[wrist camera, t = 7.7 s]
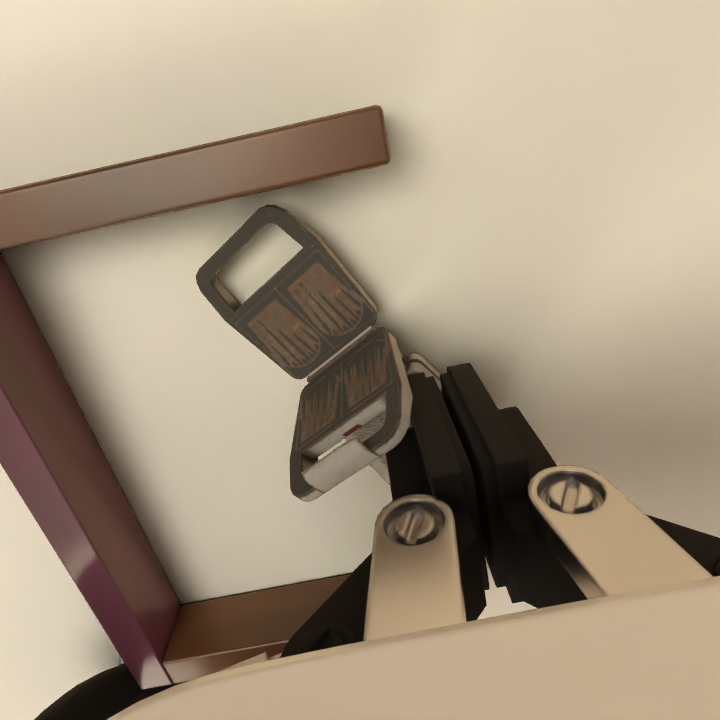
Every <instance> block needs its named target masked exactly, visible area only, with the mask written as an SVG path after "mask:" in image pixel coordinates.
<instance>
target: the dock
mask: <svg viewBox="0 0 720 720" xmlns="http://www.w3.org/2000/svg"><path fill="white" fill-rule="evenodd" d="M389 162H390V152H389V146H388V140H387V134H386V128H385V122H384V116H383V110H382V108H381V106H378V105H374V106H370V107H365V108H361V109H357V110H352V111H348V112H343V113H339V114H335V115H330V116H326V117H321V118H317V119H313V120H308V121H304V122H299V123H295V124H291V125H286V126H282V127H277V128H273V129H269V130H264V131H260V132H255V133H251V134H247V135H242V136H238V137H233V138H229V139H225V140H220V141H216V142H211V143H207V144H203V145H198V146H194V147H189V148H185V149H180V150H176V151H172V152H167V153H163V154H158V155H154V156H150V157H145V158H141V159H136V160H132V161H128V162H123V163H119V164H114V165H110V166H106V167H101V168H97V169H92V170H88V171H84V172H79V173H75V174H70V175H66V176H62V177H57V178H53V179H48V180H44V181H40V182H35V183H31V184H26V185H22V186H18V187H13V188H9V189H4V190H0V250H3V249H8V248H12V247H17V246H21V245H26V244H30V243H35V242H39V241H44V240H48V239H53V238H57V237H62V236H66V235H71V234H75V233H80V232H84V231H89V230H93V229H98V228H102V227H107V226H111V225H116V224H120V223H125V222H129V221H134V220H138V219H143V218H147V217H152V216H157V215H161V214H166V213H170V212H175V211H179V210H184V209H188V208H193V207H197V206H202V205H206V204H211V203H215V202H220V201H224V200H229V199H233V198H238V197H242V196H247V195H251V194H256V193H260V192H265V191H269V190H274V189H278V188H283V187H287V186H292V185H296V184H301V183H306V182H310V181H315V180H319V179H324V178H328V177H333V176H337V175H342V174H346V173H351V172H355V171H360V170H364V169H369V168H373V167H378V166H382V165H386V164H388V163H389ZM0 464H1V465H2V467H3V468H4V470H5V472H6V473H7V475H8V476H9V478H10V480H11V481H12V483H13V484H14V486H15V488H16V489H17V491H18V492H19V494H20V496H21V497H22V499H23V500H24V502H25V504H26V505H27V507H28V508H29V510H30V512H31V513H32V515H33V516H34V518H35V520H36V521H37V523H38V524H39V526H40V528H41V529H42V531H43V532H44V534H45V536H46V537H47V539H48V540H49V542H50V544H51V545H52V547H53V548H54V550H55V552H56V553H57V555H58V556H59V558H60V560H61V561H62V563H63V564H64V566H65V568H66V569H67V571H68V572H69V574H70V576H71V577H72V579H73V580H74V582H75V584H76V585H77V587H78V588H79V590H80V592H81V593H82V595H83V596H84V598H85V600H86V601H87V603H88V604H89V606H90V608H91V609H92V611H93V612H94V614H95V616H96V617H97V619H98V620H99V622H100V624H101V625H102V627H103V628H104V630H105V632H106V633H107V635H108V636H109V638H110V640H111V641H112V643H113V644H114V646H115V648H116V649H117V651H118V652H119V654H120V656H121V657H122V659H123V660H124V662H125V664H126V665H127V667H128V668H129V670H130V672H131V673H132V675H133V676H134V678H135V680H136V681H137V683H138V684H139V686H140V688H141V689H148V688H153V687H159V686H164V685H170V684H173V683H179V682H185V681H190V680H194V679H197V678H200V677H203V676H206V675H209V674H213V673H216V672H218V671H221V670H223V669H226V668H228V667H230V666H233V665H235V664H238V663H240V662H242V661H245V660H247V659H250V658H252V657H254V656H257V655H259V654H262V653H264V652H266V653H267V655H268V657H269V658H270V657H273V656H275V655H278V654H280V653H282V652H283V649H284V647H285V645H286V644H287V643H288V641H289V640H290V639H291V637H292V636H293V635H294V634H295V632H296V631H297V630H298V629H299V628H300V627H301V626H302V625H303V624H304V623H305V622H306V621H307V620H308V619H309V618H310V617H311V616H312V615H313V614H314V613H315V612H316V610H317V609H318V608H319V607H320V606H321V605H322V604H323V603H324V602H325V601H326V600H327V599H328V598H329V597H330V596H331V595H332V594H333V593H334V592H335V591H336V590H337V588H338V587H339V586H340V585H341V584H342V583H343V582H344V581H345V580H346V579H347V578H348V577H349V576H350V575H351V574H348V575H343V576H337V577H332V578H326V579H321V580H315V581H310V582H305V583H299V584H294V585H288V586H283V587H278V588H272V589H267V590H261V591H256V592H251V593H245V594H240V595H234V596H229V597H224V598H218V599H213V600H207V601H202V602H196V603H191V604H186V605H182V606H181V605H180V603H179V601H178V599H177V597H176V595H175V593H174V591H173V589H172V587H171V585H170V584H169V582H168V580H167V578H166V576H165V574H164V572H163V570H162V568H161V566H160V564H159V562H158V560H157V558H156V556H155V554H154V552H153V550H152V548H151V546H150V545H149V543H148V541H147V539H146V537H145V535H144V533H143V531H142V529H141V527H140V525H139V523H138V521H137V519H136V517H135V515H134V513H133V511H132V509H131V507H130V505H129V504H128V502H127V500H126V498H125V496H124V494H123V492H122V490H121V488H120V486H119V484H118V482H117V480H116V478H115V476H114V474H113V472H112V470H111V468H110V466H109V465H108V463H107V461H106V459H105V457H104V455H103V453H102V451H101V449H100V447H99V445H98V443H97V441H96V439H95V437H94V435H93V433H92V431H91V429H90V427H89V425H88V424H87V422H86V420H85V418H84V416H83V414H82V412H81V410H80V408H79V406H78V404H77V402H76V400H75V398H74V396H73V394H72V392H71V390H70V388H69V386H68V385H67V383H66V381H65V379H64V377H63V375H62V373H61V371H60V369H59V367H58V365H57V363H56V361H55V359H54V357H53V355H52V353H51V351H50V349H49V347H48V345H47V344H46V342H45V340H44V338H43V336H42V334H41V332H40V330H39V328H38V326H37V324H36V322H35V320H34V318H33V316H32V314H31V312H30V310H29V308H28V306H27V304H26V303H25V301H24V299H23V297H22V295H21V293H20V291H19V289H18V287H17V285H16V283H15V281H14V279H13V277H12V275H11V273H10V271H9V269H8V267H7V265H6V264H5V262H4V260H3V258H2V256H1V254H0Z"/></svg>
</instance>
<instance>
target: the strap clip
mask: <svg viewBox="0 0 720 720" xmlns="http://www.w3.org/2000/svg"><path fill="white" fill-rule="evenodd" d="M268 223H274V224H277V225H278V226H279V227H280V228H281V229H283V230H284V231H285V232H286V233H287V234H288V235H290V236H291V237H292V238H293V239H294V240H295V241H297V242H298V243H299V244H300V245H301V246H302V247H304V248H303V249H302V250H301V251H299V252H298V253H297V254H296V255H295V256H294V257H293V258H292V259H291V260H290V261H289V262H288V263H286V264H285V265H284V266H283V267H282V268H281V269H280V270H279V271H278V272H277V273H276V274H275V275H273V276H272V277H271V278H270V279H269V280H268V281H267V282H266V283H265V284H264V285H263V286H262V287H260V288H259V289H258V290H257V291H256V292H255V293H254V294H253V295H252V296H251V297H250V298H249V299H247V300H246V301H245V302H244V303H243V304H242V305H240V304H239V303H238V302H237V301H236V300H235V299H234V298H233V297H232V295H231V294H230V293H229V292H228V291H227V290H226V289H225V288H224V287H223V286H222V285H221V284H220V283H219V282H218V280H217V278H216V274H217V273H218V271H219V270H220V269H221V268H222V266H223V265H224V264H225V263H227V262H228V261H229V260H230V259H231V258H232V257H233V256H234V255H235V254H236V253H237V252H238V251H239V250H240V249H241V248H242V247H243V246H244V245H245V244H246V243H247V242H248V241H249V240H250V239H251V238H252V237H253V236H254V235H255V234H256V233H257V232H258V231H259V230H260V229H261V228H263V227H264V226H265V225H266V224H268ZM196 280H197V284H198V286H199V288H200V291H201V292H202V294H203V295H204V296H205V297H206V298H207V300H208V301H209V302H210V303H211V304H212V306H213V307H214V308H215V309H216V310H217V312H218V313H219V314H220V315H221V316H222V318H223V319H224V320H225V321H226V322H227V323H228V324H230V325H231V326H232V327H233V328H234V329H236V330H237V331H238V332H239V333H240V334H242V335H243V336H244V337H245V338H246V339H248V340H249V341H250V342H251V343H252V344H253V345H255V346H256V347H257V348H258V349H259V350H261V351H262V352H263V353H264V354H265V355H267V356H268V357H269V358H270V359H271V360H273V361H274V362H275V363H276V364H277V365H278V366H280V367H281V368H282V369H283V370H284V371H286V372H287V373H288V374H289V375H290V376H292V377H293V378H295V379H303V378H305V377H306V376H308V377H309V378H307V382H310V383H308V384H307V385H306V386H305V387H304V389H303V390H302V392H301V396H300V402H299V408H298V414H297V420H296V426H295V432H294V438H293V444H292V449H291V455H290V489H291V491H292V493H293V495H295V496H296V497H298V498H299V499H301V500H302V501H304V502H310V501H312V500H315V499H316V498H318V497H319V496H321V495H322V494H324V493H325V492H327V491H329V490H330V489H332V488H333V487H335V486H336V485H338V484H339V483H341V482H342V481H344V480H345V479H347V478H349V477H350V476H352V475H353V474H355V473H356V472H358V471H359V470H361V469H362V468H364V467H365V466H367V465H368V464H370V465H371V466H372V467H373V468H374V469H375V470H376V471H377V473H378V474H379V475H380V476H381V477H382V478H383V479H384V480H385V481H386V482H387V483H388V484H389V485H390V479H389V472H388V466H387V460H386V453H387V452H388V451H390V450H391V449H393V448H394V447H395V446H396V445H397V444H399V443H400V442H401V440H402V439H403V437H404V436H405V434H406V431H407V429H408V428H410V427H412V425H411V420H410V413H411V406H412V399H413V396H412V392H411V389H410V385H409V382H408V378H407V375H412V374H417V373H421V372H424V373H425V376H426V377H430V376H434V378H435V380H436V382H437V385H438V387H439V390H440V392H441V395H442V397H443V394H442V388H441V382H440V373H439V372H438V371H437V370H436V369H435V368H433V367H432V366H431V365H430V364H429V363H428V362H427V361H426V360H425V359H424V358H423V357H422V356H421V355H419V354H417V353H411V354H409V355H408V356H406V357H405V356H404V355H403V354H402V353H401V352H400V350H399V347H398V344H397V341H396V339H395V338H394V337H393V336H392V335H391V334H390V333H389V332H388V331H387V330H386V329H385V328H380V329H378V326H377V325H376V324H375V323H374V322H375V321H376V317H377V308H376V305H375V304H374V303H373V301H372V300H371V299H370V298H369V297H368V295H367V294H366V293H365V292H364V290H363V289H362V288H361V287H360V285H359V284H358V283H357V282H356V281H355V279H354V278H353V277H352V276H351V274H350V273H349V272H348V271H347V269H346V268H345V267H344V266H343V265H342V263H341V262H340V261H339V260H338V258H337V257H336V256H335V255H334V254H333V252H332V251H331V250H330V249H329V247H328V246H327V245H326V244H325V242H324V241H323V240H322V239H321V238H320V236H319V235H318V234H317V233H316V232H314V231H313V230H312V229H310V228H309V227H308V226H307V225H305V224H304V223H303V222H301V221H300V220H299V219H297V218H296V217H295V216H293V215H292V214H291V213H290V212H288V211H287V210H286V209H283V208H281V207H278V206H276V205H265V206H263V207H261V208H259V209H258V210H257V211H256V212H255V213H254V214H253V215H252V216H251V217H250V218H249V219H248V220H247V221H246V222H245V223H244V224H243V226H242V227H241V228H240V229H239V230H238V231H237V232H236V233H235V234H234V235H233V236H232V237H231V238H230V239H229V240H228V241H227V242H226V243H225V244H224V245H223V246H222V247H221V248H220V249H219V250H218V251H217V252H216V253H215V254H214V255H213V256H212V257H211V258H210V259H209V260H208V261H207V262H206V263H205V264H204V265H203V266H202V267H201V268H200V269H199V270H198V273H197V275H196ZM344 438H345V439H346V440H347V442H345V443H344V444H342V445H341V446H340V447H338V448H337V449H335V450H334V451H332V452H331V453H329V454H328V455H327V456H325V457H324V458H322V459H321V460H319V461H318V456H320V455H321V454H323V453H324V452H325V451H327V450H328V449H330V448H331V447H333V446H334V445H336V444H337V443H338V442H340V441H341V440H343V439H344Z"/></svg>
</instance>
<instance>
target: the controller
mask: <svg viewBox="0 0 720 720" xmlns="http://www.w3.org/2000/svg"><path fill="white" fill-rule="evenodd" d="M190 681H191V680H190ZM185 682H188V681H185ZM185 682H179V683H173V684H170V685H164V686H159V687H153V688H148V689H141V688H140V686H139V684H138V683H137V681H136V680H135V678H134V676H133V675H132V673H131V672H130V670H129V668H128V667H127V665H126V664H125V663H124V664H122V665H119V666H116V667H114V668H111V669H108V670H106V671H103V672H101V673H99V674H97V675H95V676H93V677H92V678H90V679H88V680H86V681H84V682H82V683H80V684H78V685H76V686H75V687H74V688H72V689H71V690H70V691H68V692H67V693H65V694H64V695H63V696H61V697H60V698H59V699H58V700H56V701H55V702H54V703H53V704H51V705H50V706H49V707H48V708H46V709H45V710H44V711H43V712H42V713H41V714H40V715H39V716H38V717H36V718H35V719H34V720H107V719H108V718H110V717H112V716H114V715H116V714H117V713H119V712H121V711H123V710H124V709H126V708H128V707H130V706H131V705H133V704H135V703H137V702H139V701H141V700H143V699H145V698H148V697H150V696H152V695H155V694H157V693H159V692H161V691H164V690H166V689H168V688H171V687H173V686H175V685H179V684H182V683H185Z"/></svg>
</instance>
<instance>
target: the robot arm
mask: <svg viewBox="0 0 720 720" xmlns="http://www.w3.org/2000/svg"><path fill="white" fill-rule="evenodd" d="M407 378H408V382H409V385H410V389H411V392H412V396H413V399H412V406H411V413H410V420H411V425H412V427H410V428H408V429H407V431H406V434H405V436H404V437H403V439H402V440H401V442H400V443H399V444H397V445H396V446H395V447H394V448H393V449H391V450H390V451H388V452H387V453H386V460H387V466H388V472H389V479H390V485H391V492H392V498H393V501H392V502H391V503H389V504H388V505H387V506H385V507H384V508H383V509H382V511H381V512H380V513H379V515H378V517H377V520H376V523H375V530H374V540H373V549H372V553H371V554H370V555H369V556H368V557H367V558H366V559H365V560H364V561H363V562H362V563H361V564H360V565H359V566H358V568H357V569H356V570H355V571H354V572H353V573H352V574H351V575H350V576H349V577H348V578H347V579H346V580H345V581H344V582H343V583H342V584H341V585H340V586H339V587H338V588H337V590H336V591H335V592H334V593H333V594H332V595H331V596H330V597H329V598H328V599H327V600H326V601H325V602H324V603H323V604H322V605H321V606H320V607H319V608H318V609H317V610H316V612H315V613H314V614H313V615H312V616H311V617H310V618H309V619H308V620H307V621H306V622H305V623H304V624H303V625H302V626H301V627H300V628H299V629H298V630H297V631H296V632H295V634H294V635H293V636H292V637H291V639H290V640H289V641H288V643H287V644H286V645H285V647H284V649H283V652H282V653H280V654H278V655H275V656H273V657H270V658H269V657H268V655H267V653H266V652H264V653H262V654H259V655H257V656H254V657H252V658H250V659H247V660H245V661H242V662H240V663H238V664H235V665H233V666H230V667H228V668H226V669H223V670H221V671H218V672H216V673H213V674H209V675H206V676H203V677H200V678H197V679H194V680H191V681H188V682H185V683H182V684H179V685H175V686H173V687H171V688H168V689H166V690H164V691H161V692H159V693H157V694H155V695H152V696H150V697H148V698H145V699H143V700H141V701H139V702H137V703H135V704H133V705H131V706H130V707H128V708H126V709H124V710H123V711H121V712H119V713H117V714H116V715H114V716H112V717H110V718H108V719H107V720H720V538H718V537H715V536H712V535H708V534H705V533H702V532H699V531H696V530H693V529H690V528H687V527H683V526H680V525H677V524H674V523H671V522H668V521H665V520H662V519H658V518H655V517H652V516H649V515H646V514H645V513H643V512H642V511H641V510H640V509H639V508H638V507H637V506H636V505H635V504H634V503H633V502H631V501H630V500H629V499H628V498H627V497H626V496H625V495H624V494H623V493H622V492H621V491H619V490H618V489H617V488H616V487H615V486H614V485H613V484H612V483H611V482H610V481H609V480H607V479H606V478H605V477H603V476H602V475H600V474H599V473H597V472H594V471H592V470H589V469H587V468H583V467H578V466H557V465H556V463H555V462H554V460H553V459H552V457H551V456H550V454H549V453H548V451H547V450H546V449H545V447H544V446H543V444H542V443H541V441H540V440H539V438H538V437H537V435H536V434H535V432H534V431H533V429H532V428H531V426H530V425H529V424H528V422H527V421H526V419H525V418H524V416H523V415H522V413H521V412H520V410H519V409H518V408H517V407H515V406H514V407H509V408H504V409H499V410H498V408H497V407H496V405H495V403H494V402H493V400H492V398H491V397H490V395H489V393H488V392H487V390H486V388H485V387H484V385H483V383H482V382H481V380H480V378H479V377H478V375H477V374H476V372H475V370H474V369H473V367H472V365H471V364H470V363H465V364H460V365H455V366H450V367H447V373H445V374H440V382H441V388H442V394H443V397H442V395H441V392H440V390H439V387H438V385H437V382H436V380H435V378H434V376H430V377H426V376H425V373H424V372H421V373H417V374H412V375H407ZM485 557H486V560H487V563H488V565H489V568H490V571H491V574H492V577H493V579H494V582H495V585H496V587H497V588H499V587H504V586H506V588H507V590H508V593H509V596H510V598H511V601H512V603H517V602H522V601H524V602H526V603H528V604H530V605H532V606H534V607H536V608H538V609H534V610H528V611H523V612H517V613H512V614H506V615H501V616H496V617H490V618H485V619H479V620H477V619H478V617H479V616H480V614H481V613H482V611H483V610H484V608H485V607H486V598H485V591H484V590H488V589H489V581H488V574H487V567H486V560H485Z"/></svg>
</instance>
